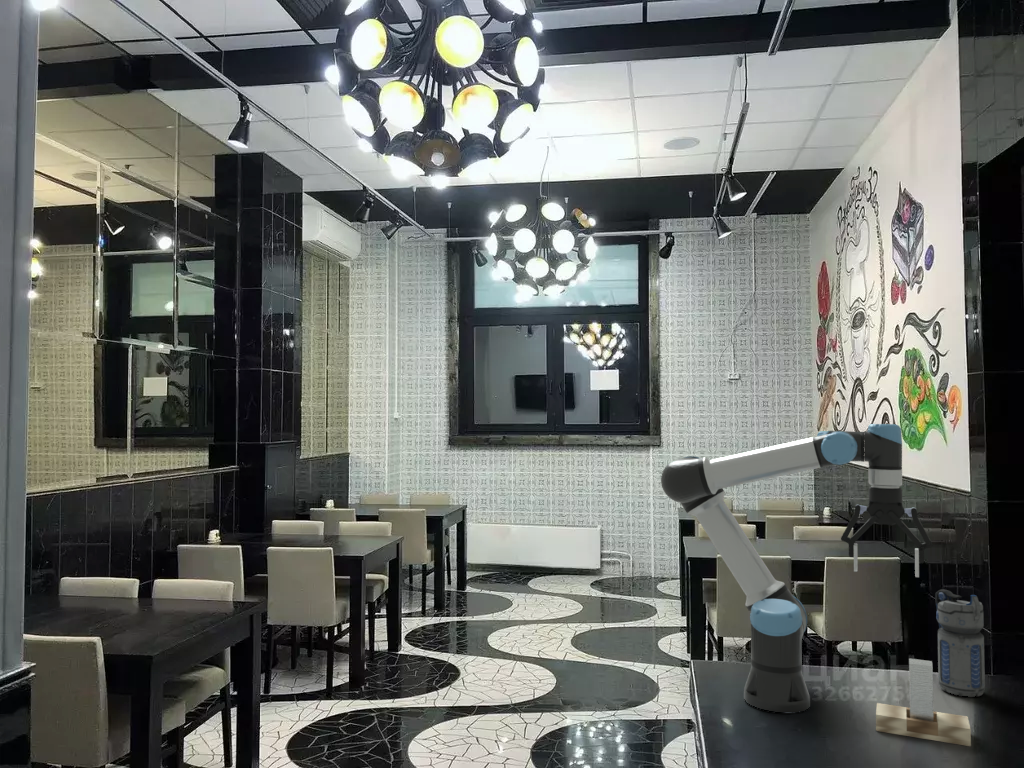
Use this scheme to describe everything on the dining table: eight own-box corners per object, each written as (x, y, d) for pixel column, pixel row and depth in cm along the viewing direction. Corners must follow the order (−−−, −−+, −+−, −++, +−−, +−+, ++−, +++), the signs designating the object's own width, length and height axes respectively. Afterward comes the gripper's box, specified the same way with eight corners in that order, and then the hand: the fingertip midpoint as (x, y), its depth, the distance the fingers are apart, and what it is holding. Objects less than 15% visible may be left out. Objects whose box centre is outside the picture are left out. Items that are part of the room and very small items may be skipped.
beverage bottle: (955, 680, 206) (953, 584, 207) (997, 698, 193) (995, 595, 195) (922, 683, 204) (920, 586, 205) (962, 701, 191) (960, 597, 192)
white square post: (910, 728, 172) (909, 663, 172) (910, 722, 175) (909, 658, 176) (933, 732, 170) (932, 666, 170) (932, 725, 173) (931, 661, 174)
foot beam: (876, 730, 173) (875, 714, 173) (877, 718, 180) (876, 702, 180) (970, 746, 165) (970, 729, 165) (967, 732, 172) (967, 716, 172)
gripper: (942, 487, 192) (942, 575, 191) (831, 483, 203) (832, 566, 202) (943, 490, 185) (944, 581, 184) (829, 485, 196) (830, 571, 195)
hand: (885, 573), depth 193 cm, fingers open, 13 cm apart
